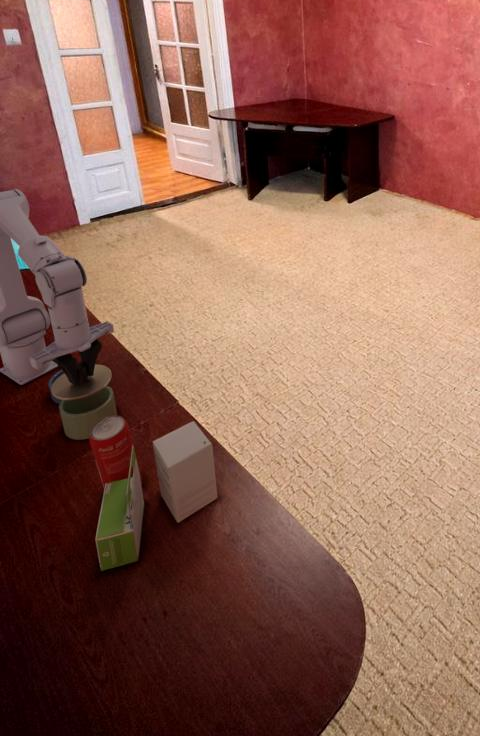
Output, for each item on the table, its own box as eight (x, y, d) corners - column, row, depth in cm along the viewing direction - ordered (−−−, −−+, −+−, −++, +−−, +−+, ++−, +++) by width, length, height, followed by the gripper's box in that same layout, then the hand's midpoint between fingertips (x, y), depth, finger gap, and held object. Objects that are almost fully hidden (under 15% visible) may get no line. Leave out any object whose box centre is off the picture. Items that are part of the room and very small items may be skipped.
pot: (54, 427, 97) (49, 404, 95) (99, 400, 105) (95, 378, 103) (82, 446, 94) (76, 422, 92) (126, 417, 101) (122, 394, 99)
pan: (42, 394, 106) (39, 381, 105) (85, 371, 114) (82, 359, 112) (67, 410, 102) (64, 397, 101) (109, 385, 110) (107, 372, 108)
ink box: (110, 513, 81) (98, 449, 77) (145, 503, 83) (135, 441, 78) (100, 573, 72) (85, 505, 68) (140, 561, 74) (128, 494, 70)
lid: (41, 390, 95) (36, 370, 93) (92, 362, 104) (89, 344, 102) (71, 410, 91) (67, 390, 89) (122, 379, 99) (119, 360, 98)
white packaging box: (200, 472, 90) (195, 418, 86) (218, 498, 85) (213, 443, 81) (159, 495, 85) (151, 440, 81) (176, 525, 80) (168, 468, 76)
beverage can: (149, 477, 88) (139, 412, 83) (127, 509, 82) (114, 441, 77) (118, 472, 89) (106, 408, 83) (94, 504, 83) (79, 437, 77)
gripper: (40, 346, 84) (54, 408, 89) (119, 309, 96) (128, 365, 101) (18, 333, 87) (33, 394, 92) (97, 299, 99) (107, 354, 104)
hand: (81, 378), depth 97 cm, fingers closed on lid, 2 cm apart
